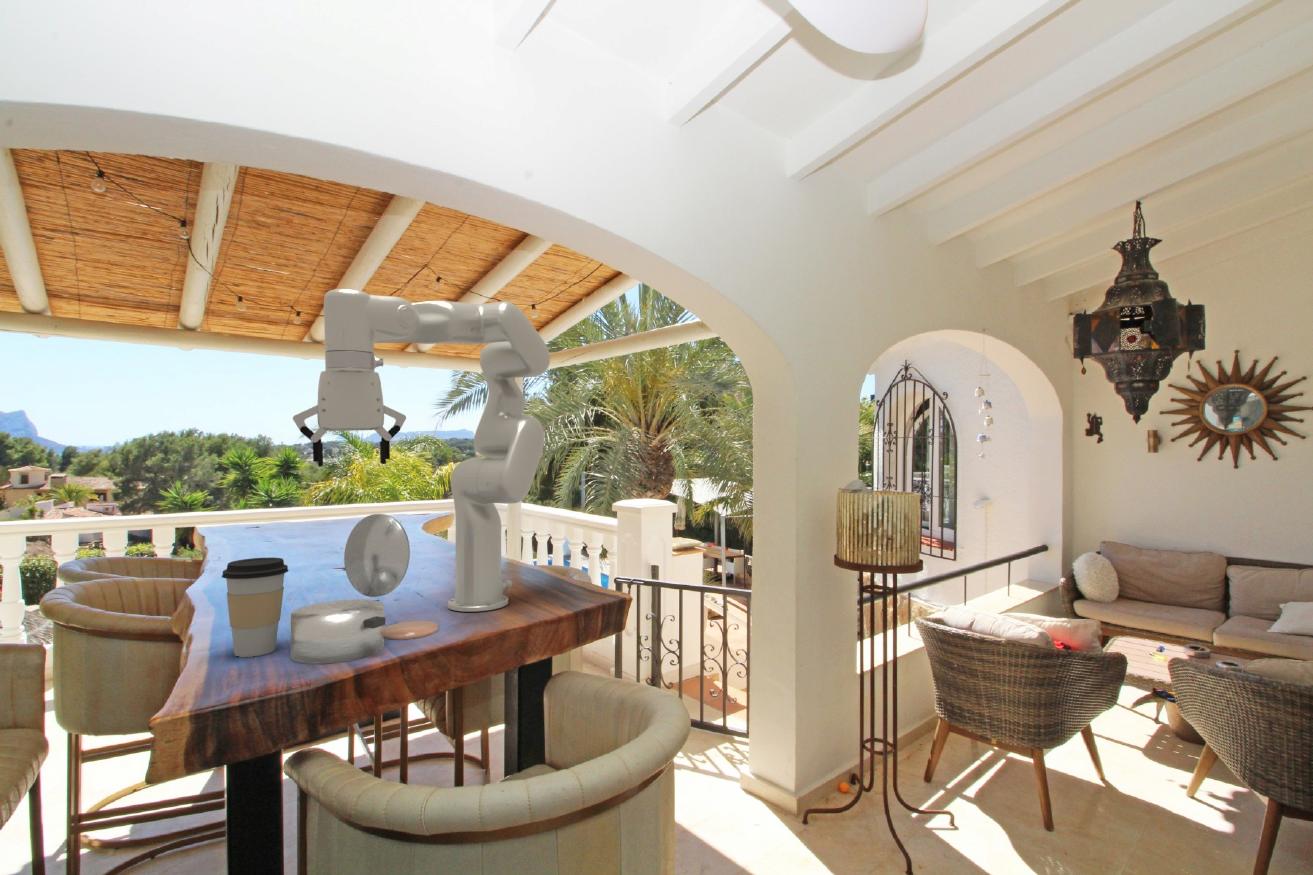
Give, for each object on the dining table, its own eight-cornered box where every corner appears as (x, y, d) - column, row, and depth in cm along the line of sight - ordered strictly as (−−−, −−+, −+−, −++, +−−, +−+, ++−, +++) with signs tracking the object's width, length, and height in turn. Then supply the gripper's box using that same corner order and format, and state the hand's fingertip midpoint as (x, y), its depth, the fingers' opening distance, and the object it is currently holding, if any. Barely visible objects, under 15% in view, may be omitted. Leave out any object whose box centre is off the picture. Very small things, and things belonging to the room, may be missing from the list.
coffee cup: (275, 640, 112) (275, 554, 113) (297, 650, 106) (298, 560, 107) (212, 653, 105) (213, 562, 105) (232, 665, 99) (233, 568, 99)
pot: (334, 633, 117) (335, 595, 117) (411, 644, 110) (411, 604, 110) (261, 655, 104) (262, 613, 104) (343, 670, 97) (343, 625, 97)
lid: (340, 593, 116) (349, 592, 118) (402, 600, 110) (410, 599, 112) (348, 512, 118) (357, 512, 120) (410, 515, 112) (418, 515, 114)
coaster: (409, 621, 124) (409, 618, 124) (450, 627, 120) (450, 624, 120) (367, 635, 115) (367, 632, 115) (411, 641, 111) (411, 638, 111)
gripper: (402, 367, 115) (404, 462, 116) (292, 365, 108) (295, 466, 108) (406, 363, 109) (409, 463, 109) (290, 360, 101) (292, 468, 101)
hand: (352, 464), depth 108 cm, fingers open, 9 cm apart
